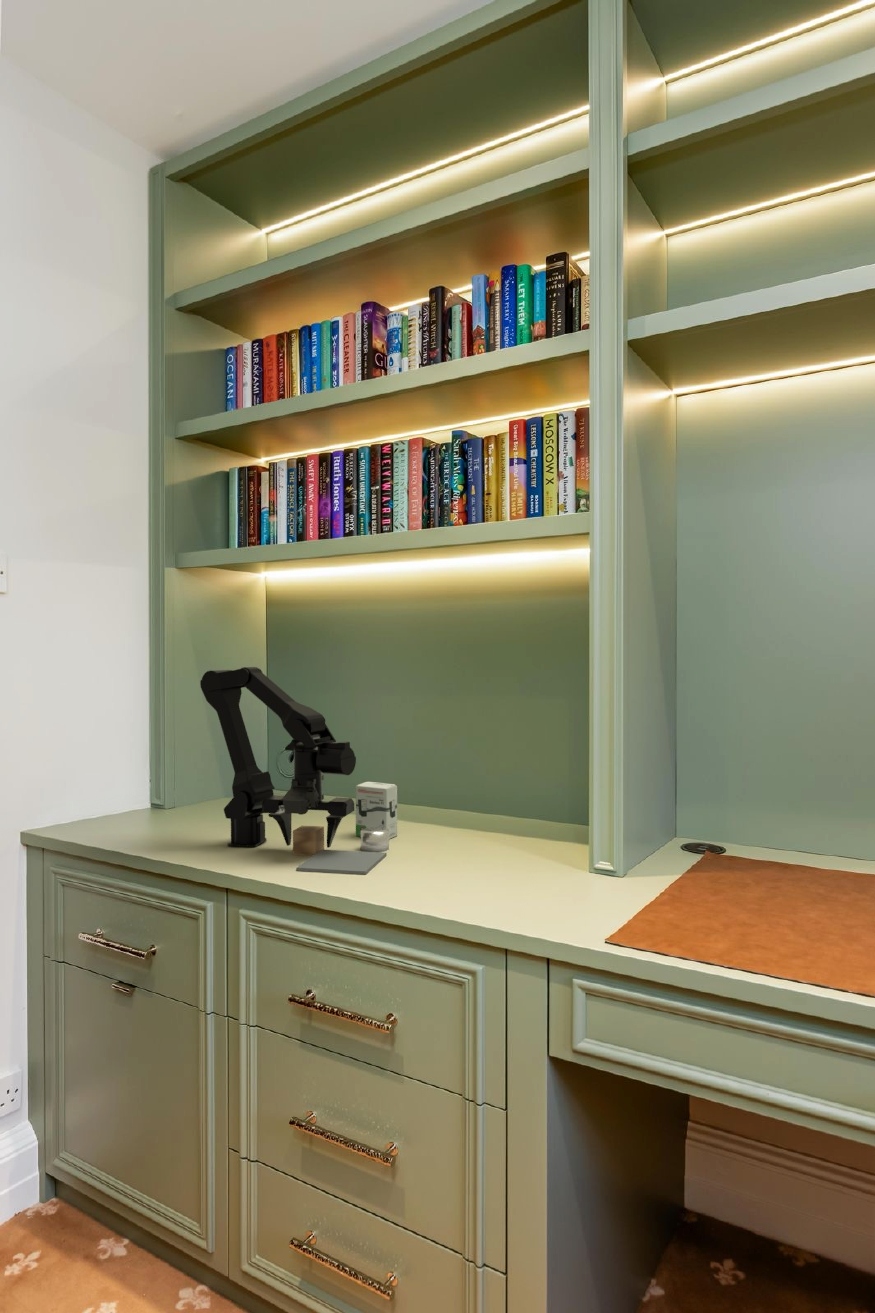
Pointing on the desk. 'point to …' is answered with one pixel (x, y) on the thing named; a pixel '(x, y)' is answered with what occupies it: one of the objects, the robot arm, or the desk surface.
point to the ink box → (376, 807)
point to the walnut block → (308, 840)
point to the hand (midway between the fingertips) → (308, 846)
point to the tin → (374, 839)
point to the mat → (342, 862)
